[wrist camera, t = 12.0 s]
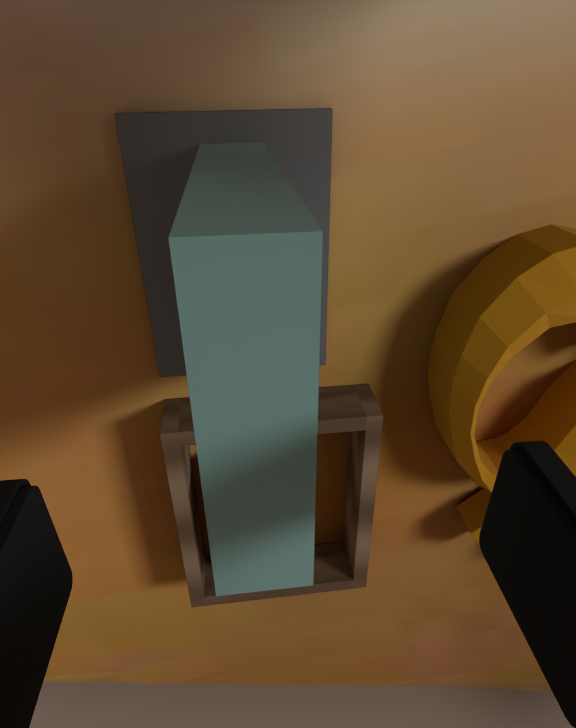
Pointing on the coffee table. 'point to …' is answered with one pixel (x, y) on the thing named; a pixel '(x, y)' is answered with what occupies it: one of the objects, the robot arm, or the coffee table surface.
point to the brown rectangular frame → (331, 561)
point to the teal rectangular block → (251, 362)
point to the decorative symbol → (504, 354)
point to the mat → (169, 178)
